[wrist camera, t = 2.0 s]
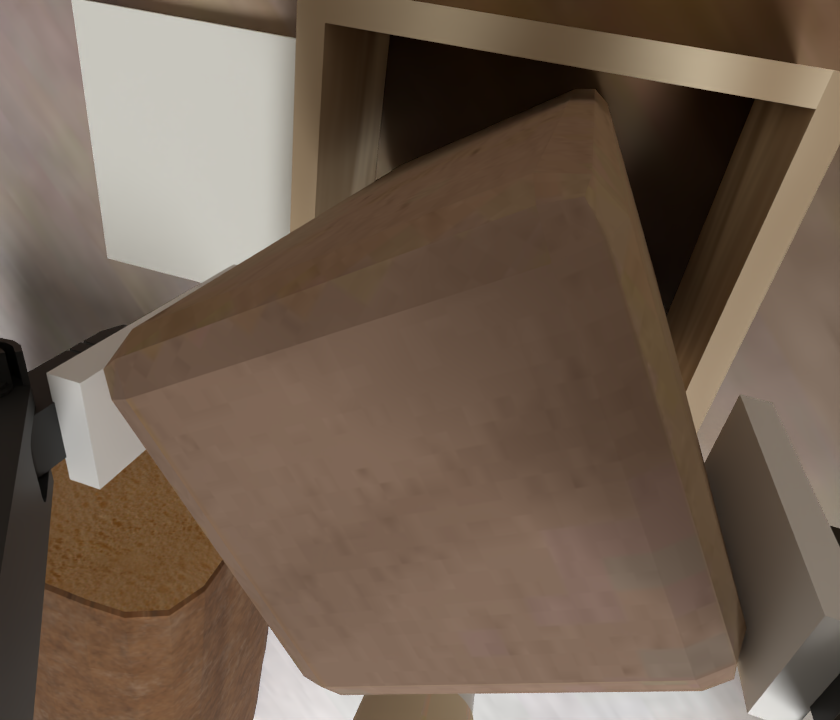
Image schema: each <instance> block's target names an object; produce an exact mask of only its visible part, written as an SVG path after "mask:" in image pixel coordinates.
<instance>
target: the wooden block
mask: <svg viewBox="0 0 840 720" xmlns="http://www.w3.org/2000/svg"><path fill="white" fill-rule="evenodd" d="M103 370H104V374H105V378H106V382H107V385H108V389H109V393H110V397H111V400H112V401H113V403H114V404H115V406H116V407H117V408H118V410H119V411H120V413H121V414H122V416H123V417H124V419H125V420H126V421H127V423H128V424H129V426H130V427H131V429H132V430H133V431H134V433H135V434H136V436H137V437H138V439H139V440H140V441H141V443H142V444H143V446H144V447H145V449H146V450H147V452H148V453H149V454H150V456H151V457H152V459H153V460H154V462H155V463H156V464H157V466H158V467H159V469H160V470H161V472H162V473H163V475H164V476H165V477H166V479H167V480H168V482H169V483H170V485H171V486H172V487H173V489H174V490H175V492H176V493H177V495H178V496H179V497H180V499H181V500H182V502H183V503H184V505H185V506H186V508H187V509H188V510H189V512H190V513H191V515H192V516H193V518H194V519H195V520H196V522H197V523H198V525H199V526H200V528H201V529H202V531H203V532H204V533H205V535H206V536H207V538H208V539H209V541H210V542H211V543H212V545H213V546H214V548H215V549H216V551H217V552H218V554H219V555H220V556H221V558H222V559H223V561H224V562H225V564H226V565H227V566H228V568H229V569H230V571H231V572H232V574H233V575H234V576H235V578H236V579H237V581H238V582H239V584H240V585H241V587H242V588H243V589H244V591H245V592H246V594H247V595H248V597H249V598H250V599H251V601H252V602H253V604H254V605H255V607H256V608H257V610H258V611H259V612H260V614H261V615H262V617H263V618H264V620H265V621H266V622H267V624H268V625H269V627H270V628H271V630H272V631H273V632H274V634H275V635H276V637H277V638H278V640H279V641H280V643H281V644H282V645H283V647H284V648H285V650H286V651H287V653H288V654H289V655H290V657H291V658H292V660H293V661H294V663H295V664H296V666H297V667H298V668H299V670H300V671H301V673H302V674H303V676H305V677H306V678H308V679H310V680H311V681H313V682H314V683H316V684H318V685H319V686H321V687H323V688H326V689H328V690H330V691H333V692H335V693H338V694H340V695H384V694H473V693H562V692H651V691H703V690H706V689H709V688H711V687H714V686H717V685H719V684H722V683H725V682H727V681H730V680H733V679H734V676H735V671H736V666H737V662H738V658H739V654H740V651H741V647H742V643H743V640H744V636H745V632H746V629H747V628H746V624H745V620H744V616H743V612H742V608H741V604H740V600H739V597H738V593H737V589H736V585H735V581H734V577H733V573H732V569H731V565H730V562H729V558H728V554H727V550H726V546H725V542H724V538H723V534H722V531H721V527H720V523H719V519H718V515H717V511H716V507H715V503H714V500H713V496H712V492H711V488H710V484H709V480H708V476H707V472H706V469H705V465H704V461H703V457H702V453H701V449H700V445H699V441H698V438H697V434H696V430H695V426H694V422H693V418H692V414H691V410H690V407H689V403H688V399H687V395H686V391H685V387H684V383H683V379H682V376H681V372H680V368H679V364H678V360H677V356H676V352H675V348H674V345H673V341H672V337H671V333H670V329H669V325H668V321H667V317H666V314H665V310H664V306H663V302H662V298H661V294H660V290H659V286H658V283H657V279H656V275H655V272H654V268H653V265H652V261H651V258H650V254H649V250H648V247H647V243H646V240H645V236H644V232H643V229H642V225H641V222H640V218H639V215H638V211H637V207H636V204H635V200H634V197H633V193H632V190H631V186H630V182H629V179H628V175H627V172H626V168H625V164H624V161H623V157H622V154H621V150H620V147H619V143H618V139H617V136H616V132H615V129H614V125H613V121H612V118H611V114H610V111H609V107H608V104H607V102H606V101H605V100H604V99H603V98H602V96H601V95H600V94H599V93H598V92H597V91H596V89H574V90H572V91H570V92H567V93H565V94H563V95H560V96H558V97H556V98H554V99H551V100H549V101H547V102H544V103H542V104H540V105H538V106H535V107H533V108H531V109H528V110H526V111H524V112H522V113H519V114H517V115H515V116H512V117H510V118H508V119H506V120H503V121H501V122H499V123H496V124H494V125H492V126H490V127H487V128H485V129H483V130H480V131H478V132H476V133H474V134H471V135H469V136H467V137H464V138H462V139H460V140H458V141H455V142H453V143H451V144H448V145H446V146H444V147H442V148H439V149H437V150H435V151H432V152H430V153H428V154H426V155H423V156H421V157H419V158H416V159H414V160H412V161H410V162H407V163H405V164H403V165H401V166H399V167H397V168H396V169H394V170H393V171H391V172H389V173H388V174H386V175H384V176H383V177H381V178H379V179H378V180H376V181H375V182H373V183H371V184H370V185H368V186H366V187H365V188H363V189H361V190H360V191H358V192H356V193H355V194H353V195H352V196H350V197H348V198H347V199H345V200H343V201H342V202H340V203H338V204H337V205H335V206H333V207H332V208H330V209H329V210H327V211H325V212H324V213H322V214H320V215H319V216H317V217H315V218H314V219H312V220H310V221H309V222H307V223H306V224H304V225H302V226H301V227H299V228H297V229H296V230H294V231H292V232H291V233H289V234H288V235H286V236H284V237H283V238H281V239H279V240H278V241H276V242H274V243H273V244H271V245H269V246H268V247H266V248H265V249H263V250H261V251H260V252H258V253H256V254H255V255H253V256H251V257H250V258H248V259H246V260H245V261H243V262H242V263H240V264H238V265H237V266H235V267H233V268H232V269H230V270H228V271H227V272H225V273H223V274H222V275H220V276H219V277H217V278H215V279H214V280H212V281H210V282H209V283H207V284H205V285H204V286H202V287H201V288H199V289H197V290H196V291H194V292H192V293H191V294H189V295H187V296H186V297H184V298H182V299H181V300H179V301H178V302H176V303H174V304H173V305H171V306H169V307H168V308H166V309H164V310H163V311H161V312H159V313H158V314H156V315H155V316H153V317H151V318H150V319H148V320H146V321H145V322H143V323H141V324H140V325H138V326H136V327H135V328H133V329H132V330H131V331H130V333H129V334H128V336H127V337H126V338H125V340H124V341H123V343H122V344H121V345H120V347H119V348H118V350H117V351H116V352H115V354H114V355H113V357H112V358H111V359H110V361H109V362H108V363H107V365H106V366H105V368H104V369H103Z"/></svg>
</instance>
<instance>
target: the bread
mask: <svg viewBox="0 0 840 720" xmlns="http://www.w3.org/2000/svg"><path fill="white" fill-rule="evenodd" d="M51 471H52V475H53V480H54V485H53V497H52V508H51V520H50V531H49V543H48V554H47V566H46V577H45V589H44V600H43V612H42V623H41V635H40V646H39V658H38V669H37V681H36V692H35V704H34V715H33V720H253V718H254V714H255V709H256V704H257V698H258V691H259V684H260V676H261V670H262V663H263V658H264V653H265V648H266V642H267V635H268V626H269V625H268V624H267V622H266V621H265V620H264V618H263V617H262V615H261V614H260V612H259V611H258V610H257V608H256V607H255V605H254V604H253V602H252V601H251V599H250V598H249V597H248V595H247V594H246V592H245V591H244V589H243V588H242V587H241V585H240V584H239V582H238V581H237V579H236V578H235V576H234V575H233V574H232V572H231V571H230V569H229V568H228V566H227V565H226V564H225V562H224V561H223V559H222V558H221V556H220V555H219V554H218V552H217V551H216V549H215V548H214V546H213V545H212V543H211V542H210V541H209V539H208V538H207V536H206V535H205V533H204V532H203V531H202V529H201V528H200V526H199V525H198V523H197V522H196V520H195V519H194V518H193V516H192V515H191V513H190V512H189V510H188V509H187V508H186V506H185V505H184V503H183V502H182V500H181V499H180V497H179V496H178V495H177V493H176V492H175V490H174V489H173V487H172V486H171V485H170V483H169V482H168V480H167V479H166V477H165V476H164V475H163V473H162V472H161V470H160V469H159V467H158V466H157V464H156V463H155V462H154V460H153V459H152V457H151V456H150V454H149V453H148V452H147V450H145V451H144V452H143V453H141V454H140V455H139V456H138V457H137V458H136V459H135V460H133V461H132V462H131V463H130V464H129V465H128V466H127V467H125V468H124V469H123V470H122V471H121V472H120V473H119V474H117V475H116V476H115V477H114V478H113V479H112V480H111V481H109V482H108V483H107V484H106V485H105V486H104V487H102V488H101V489H97V488H94V487H91V486H88V485H85V484H82V483H79V482H77V481H74V480H71V479H70V477H69V473H68V468H67V464H66V459H64V460H62V461H61V462H60V463H58V464H57V465H56V466H54V467H53V468H52V469H51Z"/></svg>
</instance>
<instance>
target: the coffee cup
mask: <svg viewBox="0 0 840 720" xmlns="http://www.w3.org/2000/svg"><path fill="white" fill-rule="evenodd" d="M474 695H475V693H473V694H384V695H364V697H363V699H362V701H361V703H360V705H359V708H358V710H357V712H356V714H355V716H354V719H353V720H473V715H472V712H473V703H474Z"/></svg>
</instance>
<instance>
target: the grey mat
mask: <svg viewBox="0 0 840 720" xmlns="http://www.w3.org/2000/svg"><path fill="white" fill-rule="evenodd" d="M72 8H73V15H74V22H75V29H76V36H77V43H78V51H79V58H80V65H81V72H82V79H83V86H84V94H85V101H86V108H87V115H88V122H89V129H90V137H91V144H92V151H93V158H94V165H95V172H96V180H97V187H98V194H99V201H100V208H101V215H102V223H103V230H104V237H105V244H106V251H107V258H108V259H112V260H116V261H120V262H123V263H127V264H131V265H135V266H139V267H143V268H146V269H150V270H154V271H158V272H162V273H166V274H170V275H173V276H177V277H181V278H185V279H189V280H193V281H196V282H200V283H202V282H204V281H206V280H207V279H209V278H211V277H213V276H214V275H216V274H218V273H220V272H221V271H223V270H225V269H226V268H228V267H230V266H232V265H233V264H235V265H238V264H240V263H242V262H243V261H245V260H246V259H248V258H250V257H251V256H253V255H255V254H256V253H258V252H260V251H261V250H263V249H265V248H266V247H268V246H269V245H271V244H273V243H274V242H276V241H278V240H279V239H281V238H283V237H284V236H286V235H288V234H289V233H290V214H291V181H292V148H293V116H294V83H295V51H296V38H294V37H288V36H283V35H277V34H272V33H266V32H261V31H255V30H250V29H244V28H239V27H233V26H228V25H222V24H217V23H211V22H206V21H200V20H195V19H189V18H184V17H178V16H173V15H167V14H162V13H156V12H151V11H145V10H140V9H134V8H129V7H123V6H118V5H112V4H107V3H101V2H96V1H90V0H72Z"/></svg>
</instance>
